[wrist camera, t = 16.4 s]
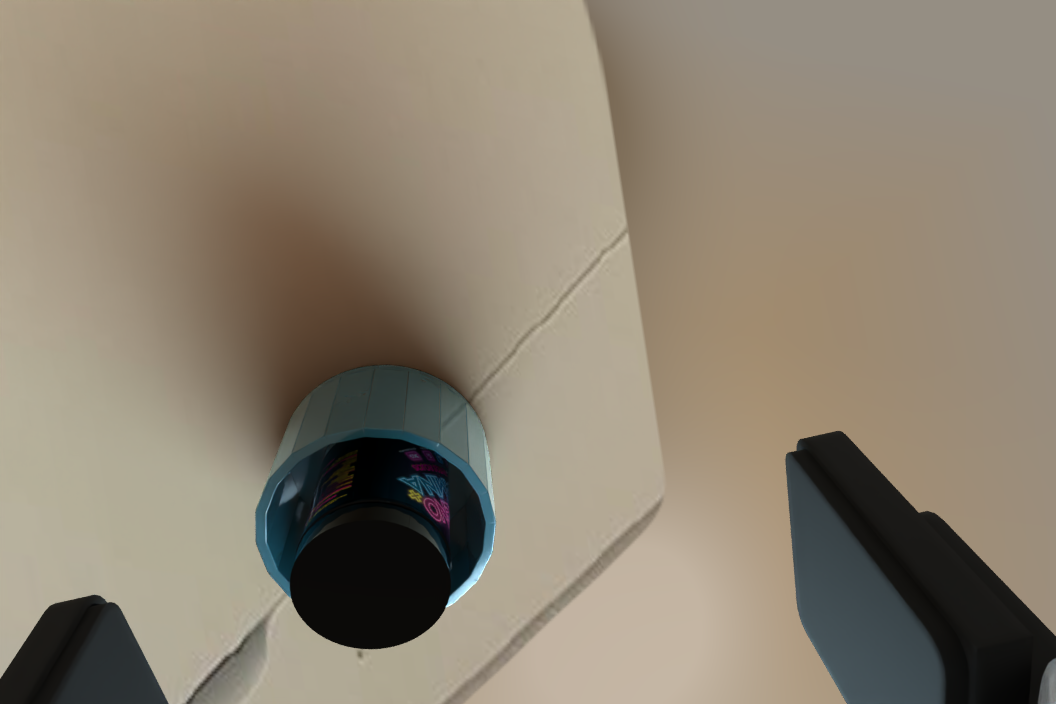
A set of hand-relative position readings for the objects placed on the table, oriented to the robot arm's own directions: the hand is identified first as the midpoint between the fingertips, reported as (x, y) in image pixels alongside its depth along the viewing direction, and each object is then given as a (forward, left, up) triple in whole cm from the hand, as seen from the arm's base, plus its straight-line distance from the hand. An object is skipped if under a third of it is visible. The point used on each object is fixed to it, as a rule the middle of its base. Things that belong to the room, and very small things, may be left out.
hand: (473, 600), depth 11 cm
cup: (+7, +14, -30) cm, 34 cm away
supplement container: (+7, +14, -30) cm, 34 cm away
